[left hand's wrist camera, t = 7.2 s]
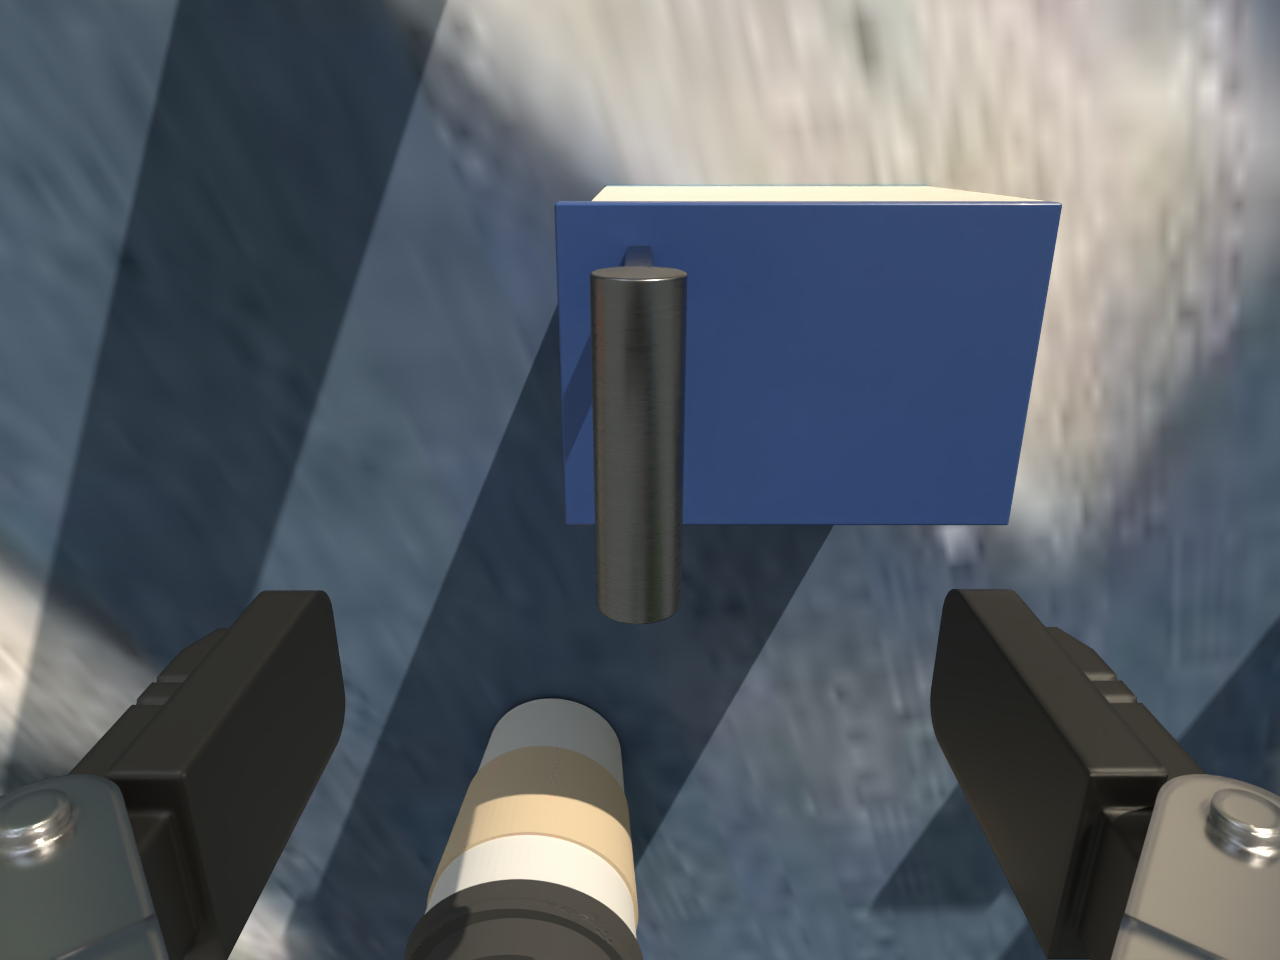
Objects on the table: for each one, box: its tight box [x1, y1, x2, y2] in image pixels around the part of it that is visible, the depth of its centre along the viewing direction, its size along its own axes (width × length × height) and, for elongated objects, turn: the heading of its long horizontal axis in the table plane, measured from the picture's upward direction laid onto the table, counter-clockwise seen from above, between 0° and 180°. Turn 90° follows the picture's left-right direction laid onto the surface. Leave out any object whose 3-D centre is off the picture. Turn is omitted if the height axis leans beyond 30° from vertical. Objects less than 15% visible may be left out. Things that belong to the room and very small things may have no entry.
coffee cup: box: [405, 698, 643, 960], centre depth 37 cm, size 9×9×15 cm
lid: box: [555, 201, 1062, 624], centre depth 22 cm, size 14×10×9 cm
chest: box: [592, 185, 1041, 201], centre depth 31 cm, size 13×10×11 cm
